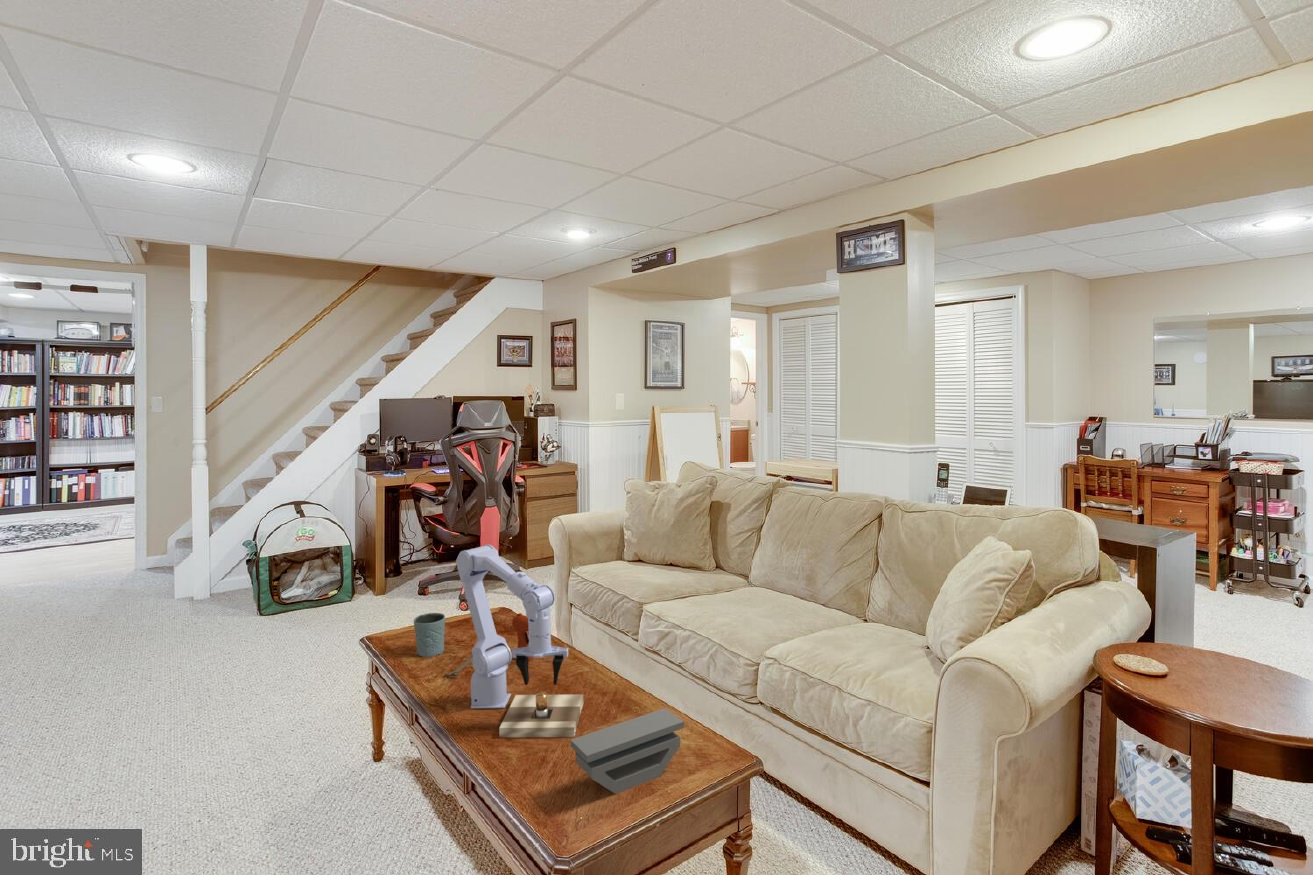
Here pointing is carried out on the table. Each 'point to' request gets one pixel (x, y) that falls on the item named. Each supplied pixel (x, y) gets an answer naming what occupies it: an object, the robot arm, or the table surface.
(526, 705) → the board
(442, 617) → the teal cup
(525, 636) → the toy drill
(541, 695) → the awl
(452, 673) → the tomahawk
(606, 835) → the table surface
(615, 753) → the grey tapered block
